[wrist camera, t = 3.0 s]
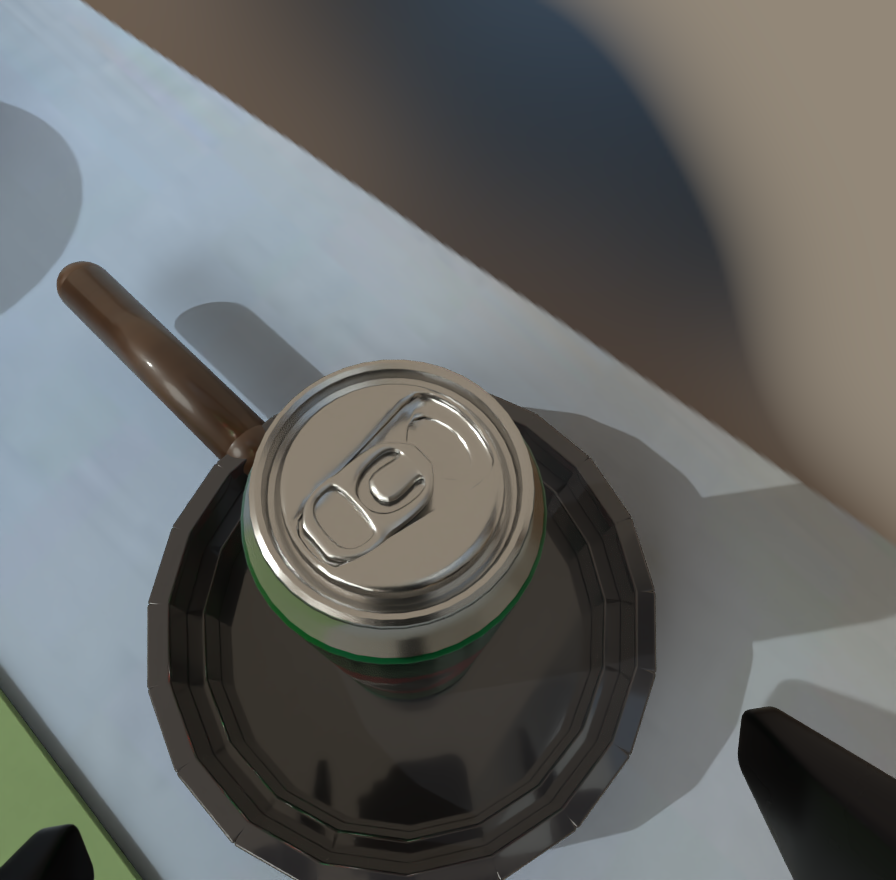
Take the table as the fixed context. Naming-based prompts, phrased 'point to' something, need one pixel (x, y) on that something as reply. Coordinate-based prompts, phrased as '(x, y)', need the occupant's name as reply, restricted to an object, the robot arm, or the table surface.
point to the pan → (406, 720)
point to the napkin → (46, 800)
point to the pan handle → (162, 362)
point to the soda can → (394, 522)
